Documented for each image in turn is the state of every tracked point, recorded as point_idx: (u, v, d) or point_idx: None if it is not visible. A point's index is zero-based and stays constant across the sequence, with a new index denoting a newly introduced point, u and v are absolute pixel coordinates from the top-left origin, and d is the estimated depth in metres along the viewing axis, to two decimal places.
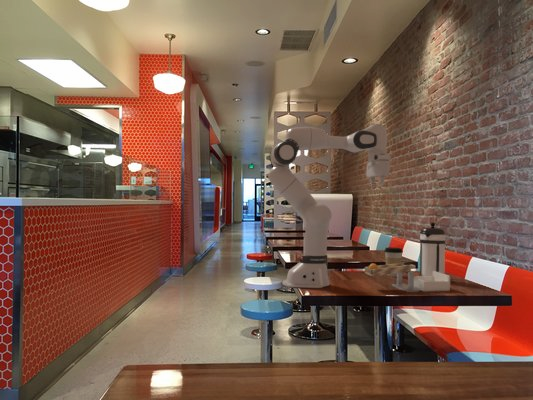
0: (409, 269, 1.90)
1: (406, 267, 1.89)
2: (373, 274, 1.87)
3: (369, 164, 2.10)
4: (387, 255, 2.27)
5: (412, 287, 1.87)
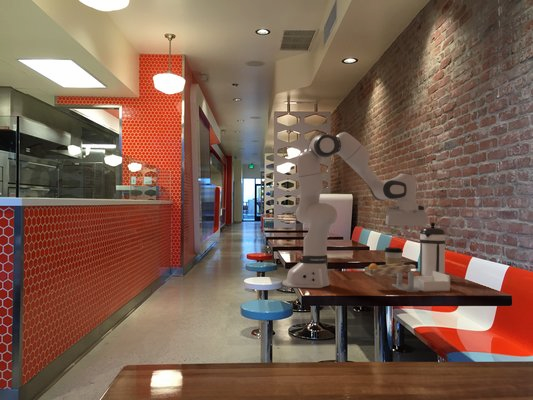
0: (409, 269, 1.90)
1: (406, 267, 1.89)
2: (373, 274, 1.87)
3: (397, 212, 2.01)
4: (387, 255, 2.27)
5: (412, 287, 1.87)
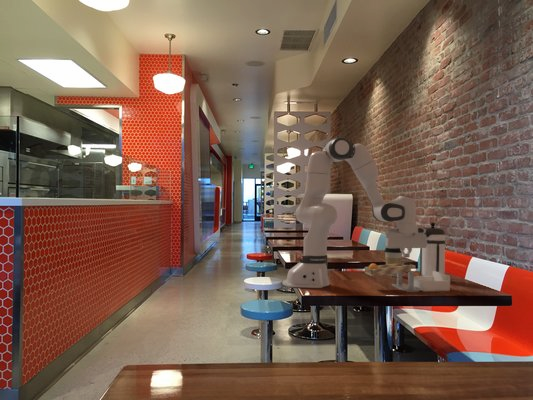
0: (409, 269, 1.90)
1: (406, 267, 1.89)
2: (373, 274, 1.87)
3: (396, 234, 2.01)
4: (387, 255, 2.27)
5: (412, 287, 1.87)
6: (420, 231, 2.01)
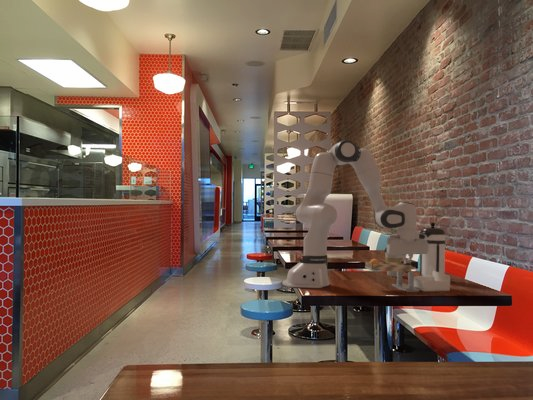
0: (409, 269, 1.90)
1: (407, 267, 1.89)
2: (373, 269, 1.87)
3: (397, 241, 2.01)
4: (387, 255, 2.27)
5: (412, 287, 1.87)
6: (421, 237, 2.01)
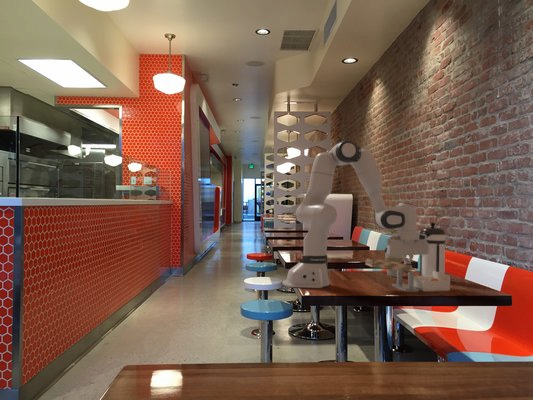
0: (410, 269, 1.90)
1: (407, 266, 1.90)
2: (374, 265, 1.87)
3: (398, 242, 2.01)
4: (387, 255, 2.27)
5: (412, 287, 1.87)
6: (421, 238, 2.01)
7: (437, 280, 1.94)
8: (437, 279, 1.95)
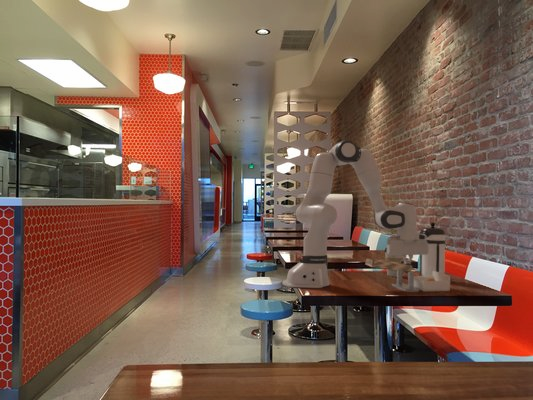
0: (410, 269, 1.90)
1: (407, 266, 1.90)
2: (374, 265, 1.87)
3: (397, 242, 2.01)
4: (387, 255, 2.27)
5: (412, 287, 1.87)
6: (421, 238, 2.01)
7: (431, 280, 1.94)
8: (430, 279, 1.94)
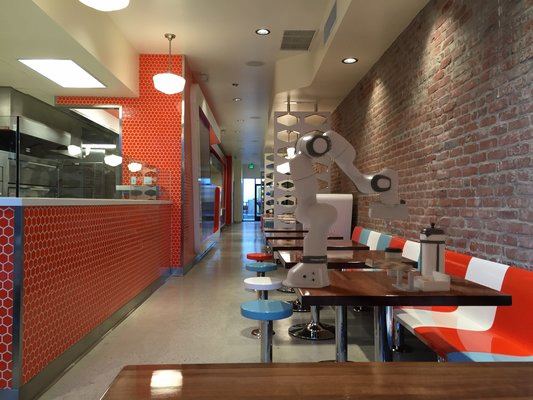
0: (410, 269, 1.90)
1: (407, 266, 1.90)
2: (374, 265, 1.87)
3: (379, 205, 2.09)
4: (387, 255, 2.27)
5: (412, 287, 1.87)
6: (402, 202, 2.09)
7: None
8: None
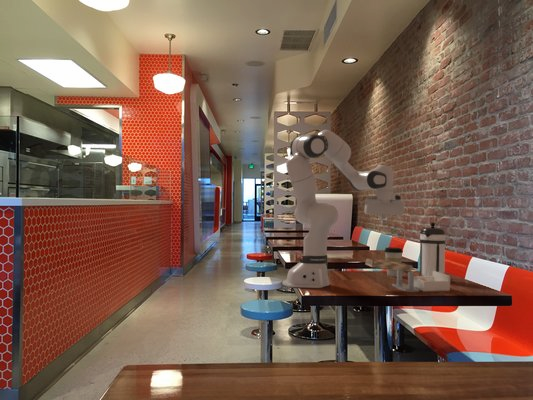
0: (410, 269, 1.90)
1: (407, 266, 1.90)
2: (374, 265, 1.87)
3: (375, 201, 2.11)
4: (387, 255, 2.27)
5: (412, 287, 1.87)
6: (397, 198, 2.11)
7: None
8: None
